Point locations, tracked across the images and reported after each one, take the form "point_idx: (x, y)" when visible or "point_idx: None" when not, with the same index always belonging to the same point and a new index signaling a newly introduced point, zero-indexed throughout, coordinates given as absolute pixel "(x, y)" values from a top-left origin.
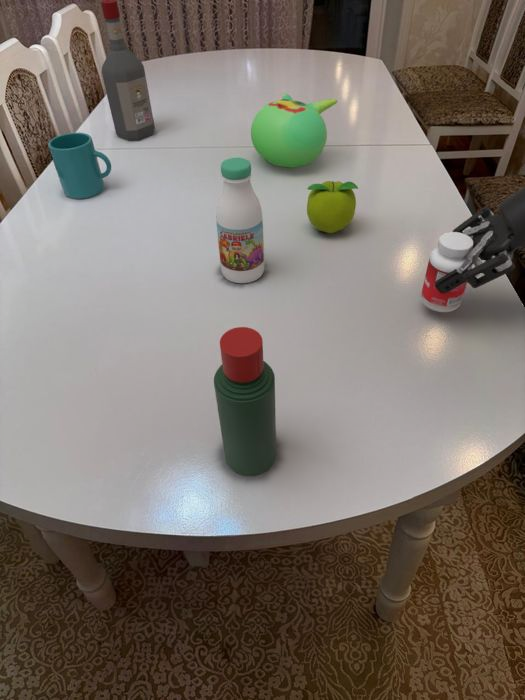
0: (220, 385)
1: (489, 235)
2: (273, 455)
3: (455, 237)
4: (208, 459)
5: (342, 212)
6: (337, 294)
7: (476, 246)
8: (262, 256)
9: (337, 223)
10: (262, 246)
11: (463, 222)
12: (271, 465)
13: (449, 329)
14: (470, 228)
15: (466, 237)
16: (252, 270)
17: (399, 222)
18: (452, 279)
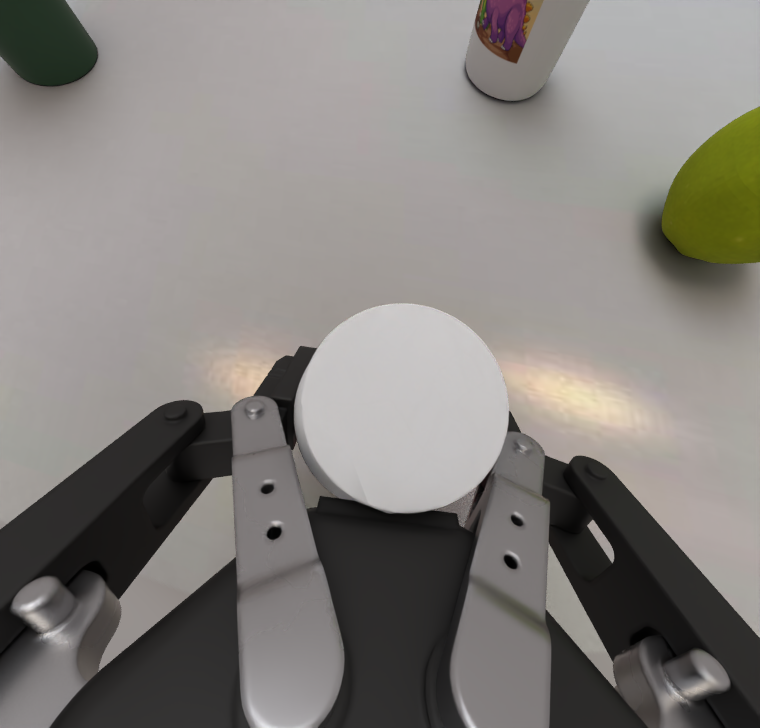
0: None
1: (266, 663)
2: (3, 56)
3: (443, 404)
4: None
5: (730, 192)
6: (436, 220)
7: (298, 509)
8: (516, 42)
9: (686, 207)
10: (533, 7)
11: (659, 527)
12: (20, 76)
13: None
14: (546, 536)
15: (443, 478)
16: (480, 47)
17: (754, 411)
18: (265, 386)
